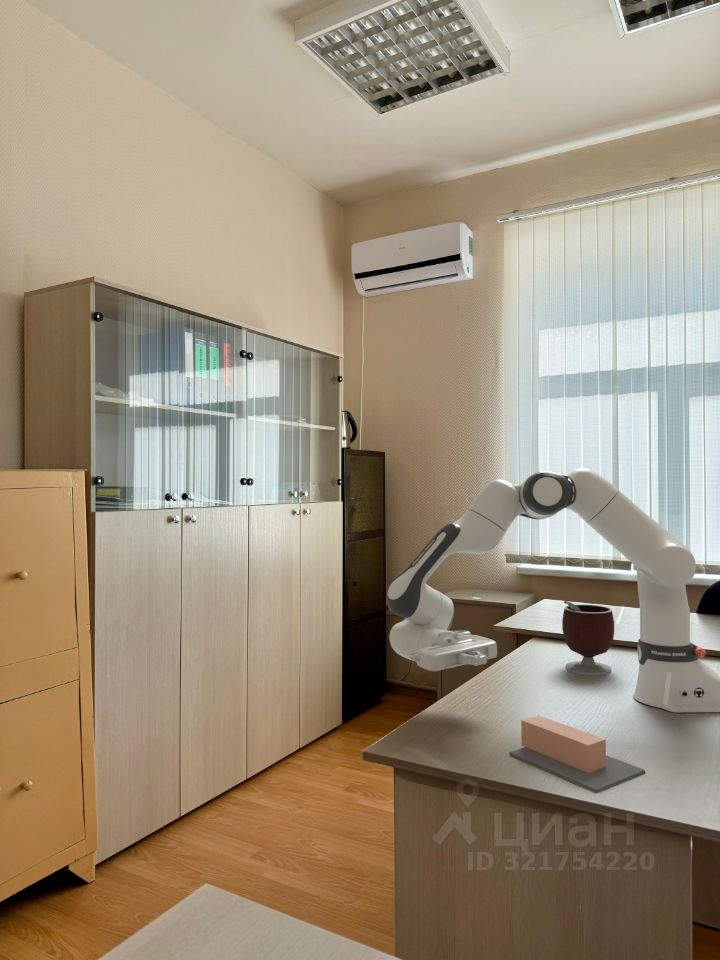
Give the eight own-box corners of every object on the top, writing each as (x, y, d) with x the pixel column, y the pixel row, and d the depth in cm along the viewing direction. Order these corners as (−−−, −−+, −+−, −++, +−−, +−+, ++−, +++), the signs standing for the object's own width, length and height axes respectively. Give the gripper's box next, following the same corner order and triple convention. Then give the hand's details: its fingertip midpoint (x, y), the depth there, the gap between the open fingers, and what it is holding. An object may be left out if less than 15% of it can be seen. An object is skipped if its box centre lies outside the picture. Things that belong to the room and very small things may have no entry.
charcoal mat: (509, 754, 134) (509, 752, 134) (557, 739, 142) (557, 736, 142) (596, 792, 118) (596, 789, 118) (645, 772, 126) (645, 769, 126)
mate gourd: (588, 660, 204) (587, 592, 204) (625, 671, 191) (625, 599, 191) (547, 667, 197) (547, 596, 197) (584, 679, 184) (583, 604, 184)
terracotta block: (521, 720, 138) (588, 745, 124) (538, 715, 140) (605, 739, 127) (521, 745, 138) (588, 773, 124) (538, 739, 140) (605, 766, 127)
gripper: (404, 642, 156) (445, 654, 145) (471, 629, 168) (513, 639, 156) (405, 670, 156) (446, 684, 145) (471, 655, 168) (514, 667, 156)
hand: (482, 660), depth 151 cm, fingers closed
